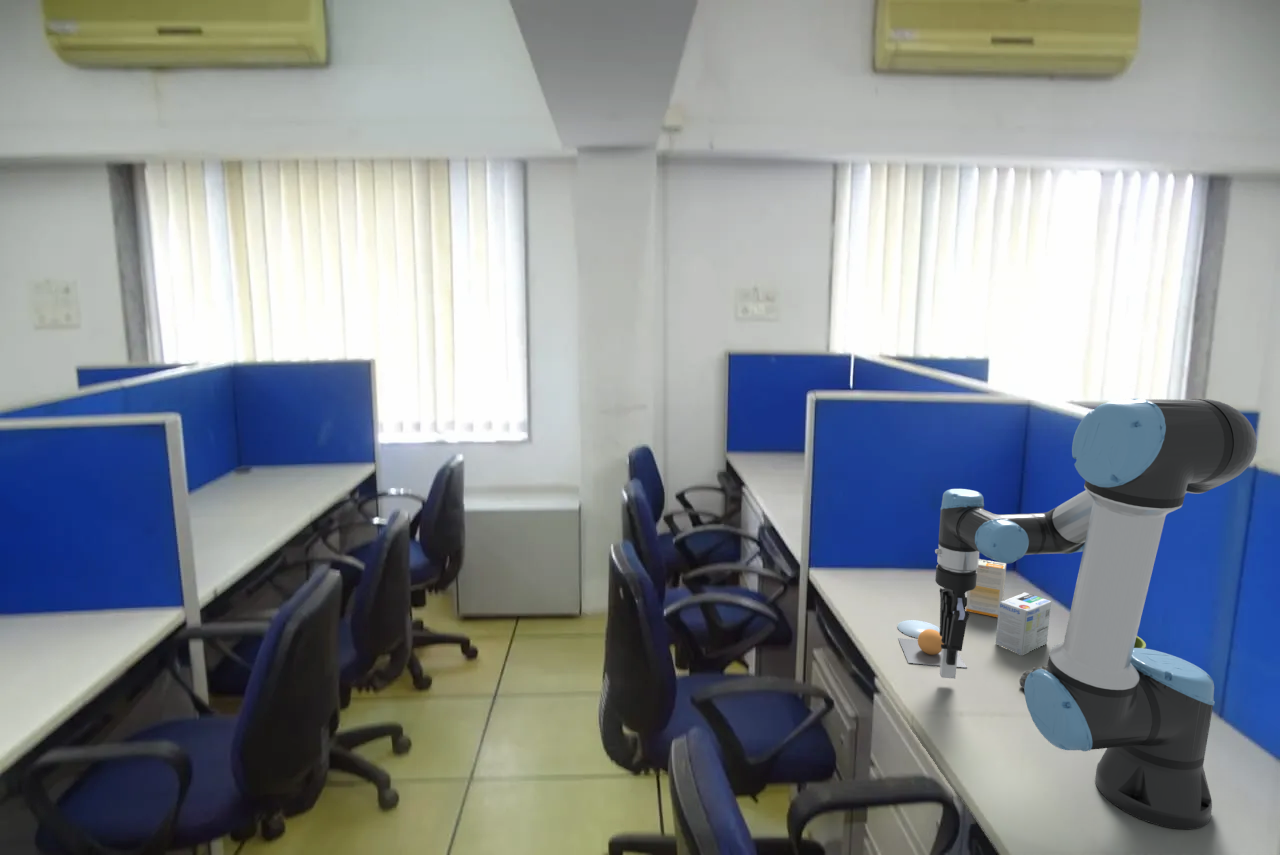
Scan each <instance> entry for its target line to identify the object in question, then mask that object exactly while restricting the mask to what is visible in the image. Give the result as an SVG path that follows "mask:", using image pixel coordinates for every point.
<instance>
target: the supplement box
mask: <svg viewBox="0 0 1280 855" xmlns="http://www.w3.org/2000/svg"><path fill="white" fill-rule="evenodd" d="M976 571H977V580H976V587H975V588H974V589H973V590H969V591H967V592H966V597H967V606H966V607H965V611H968V612H970V613H974V614H979V615H984V616H990V617H994V618H998V611H999V602H1000V601H1004V600H1005V599H1004V598H1005V597H1004V596H1005V587H1006V586H1005V585H1006V584H1005V583H1006V573H1007V563H1001V562H998V561H995V560H994V561H993V560H987V559H981V558H979V562H978V568H977V569H976Z"/></svg>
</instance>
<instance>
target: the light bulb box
mask: <svg viewBox="0 0 1280 855" xmlns="http://www.w3.org/2000/svg"><path fill="white" fill-rule="evenodd" d="M1051 608H1052V601H1051V600H1049V599H1046V598H1043V597H1041V596H1037V595H1034V594H1031V593H1028V592H1025V591H1024V592H1021V593H1019V594H1017V595H1014V596H1012V597H1009V598H1006V599H1004V600H1003V601H1000V602H999V611H998V617H997V621H996V622H997V624H996V632H995V633H996V635H995V636H996V637H995V643H996V644H998V645H1000V646H1003V647H1005V648H1007V649H1010V650H1012V651H1014V652H1016V653H1018V654H1017V655H1019V654H1020V655H1019V656H1021V655H1022V656H1024V655H1026V654H1028V653H1030V652H1029V651H1031V652H1032V650H1033V651H1035V650H1037V649H1039V648H1041V647H1040V646H1042V647H1044V646H1045V644H1046V645H1047V644H1048V636H1049V626H1050V617H1051ZM1043 645H1044V646H1043ZM1000 646H999V647H1000ZM1038 647H1039V648H1038ZM1036 648H1037V649H1036ZM1007 649H1006V650H1007ZM1034 649H1035V650H1034ZM1012 651H1011V652H1012ZM1014 652H1013V653H1014ZM1027 652H1028V653H1027ZM1016 653H1015V654H1016ZM1025 653H1026V654H1025ZM1023 654H1024V655H1023Z"/></svg>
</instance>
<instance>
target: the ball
mask: <svg viewBox="0 0 1280 855" xmlns="http://www.w3.org/2000/svg"><path fill="white" fill-rule="evenodd" d="M941 639H942V636H940V634H939V632H938V631H936V630H933V629H927V630H924V631H922V632H921V633H920V635H919V637H918V638H917V640H918V645H919V647H920V649H921V650H922V651H923V652H925V653H926V654H930V655H935V654H938V653H940V652H941V651H942V648H941V644H944V643H942V641H941Z"/></svg>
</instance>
